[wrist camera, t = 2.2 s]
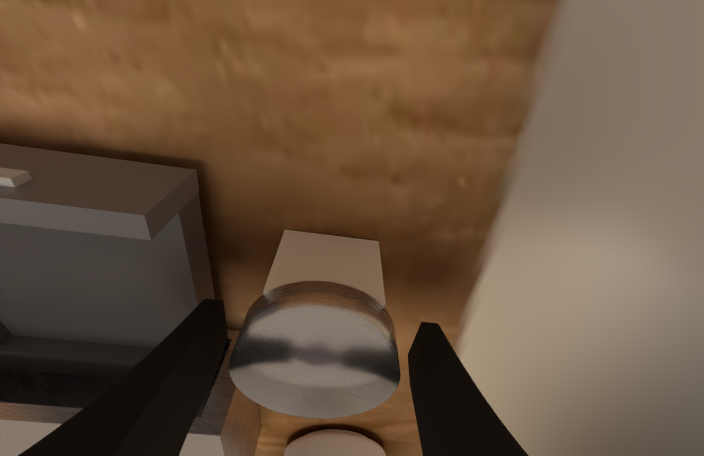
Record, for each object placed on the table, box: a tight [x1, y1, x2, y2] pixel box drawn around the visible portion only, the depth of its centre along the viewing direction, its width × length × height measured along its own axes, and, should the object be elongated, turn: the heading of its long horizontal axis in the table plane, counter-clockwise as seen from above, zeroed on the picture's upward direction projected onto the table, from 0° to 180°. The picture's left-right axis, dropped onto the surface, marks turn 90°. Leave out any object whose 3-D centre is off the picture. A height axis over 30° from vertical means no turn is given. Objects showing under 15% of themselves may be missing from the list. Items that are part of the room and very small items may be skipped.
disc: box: [229, 281, 400, 418], centre depth 10 cm, size 5×5×2 cm
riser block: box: [263, 230, 386, 308], centre depth 12 cm, size 4×4×4 cm
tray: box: [0, 143, 224, 387], centre depth 12 cm, size 11×11×3 cm
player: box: [0, 329, 260, 456], centre depth 17 cm, size 14×12×5 cm
